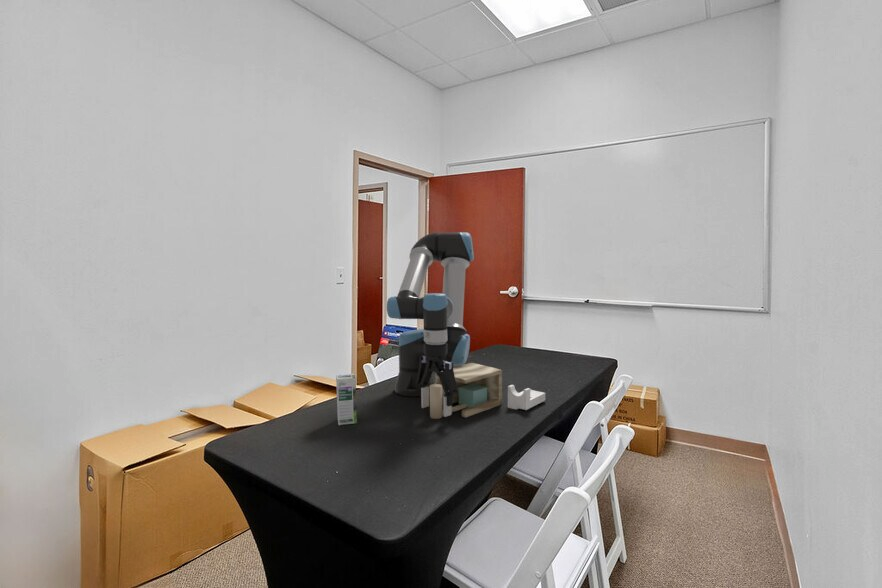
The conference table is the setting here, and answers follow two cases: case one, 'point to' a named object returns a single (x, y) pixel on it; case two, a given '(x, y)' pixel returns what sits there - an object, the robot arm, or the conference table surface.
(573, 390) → the conference table surface
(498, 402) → the wooden frame
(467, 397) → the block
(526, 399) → the bracket
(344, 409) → the syrup box
